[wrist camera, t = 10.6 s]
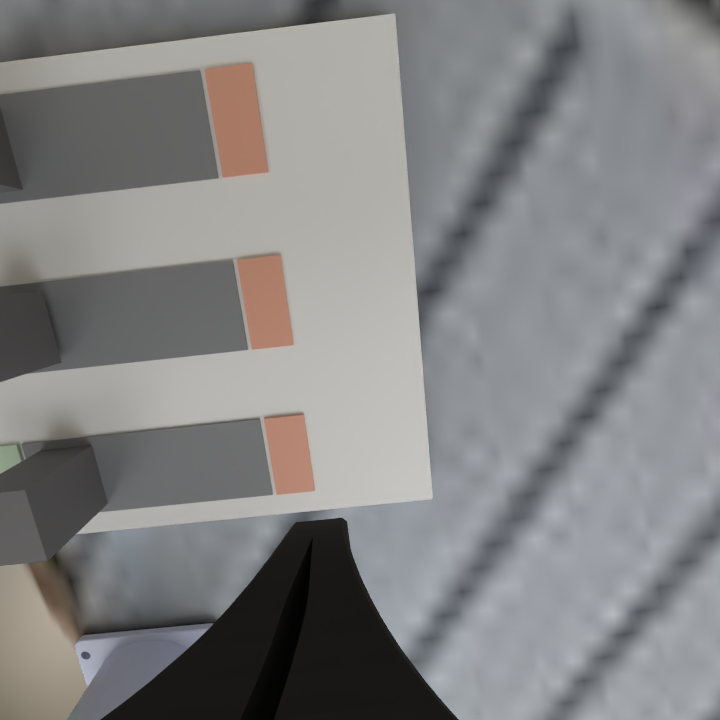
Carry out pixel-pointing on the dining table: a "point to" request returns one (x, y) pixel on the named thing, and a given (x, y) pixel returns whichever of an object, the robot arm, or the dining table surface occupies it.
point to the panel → (210, 283)
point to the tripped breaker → (25, 335)
